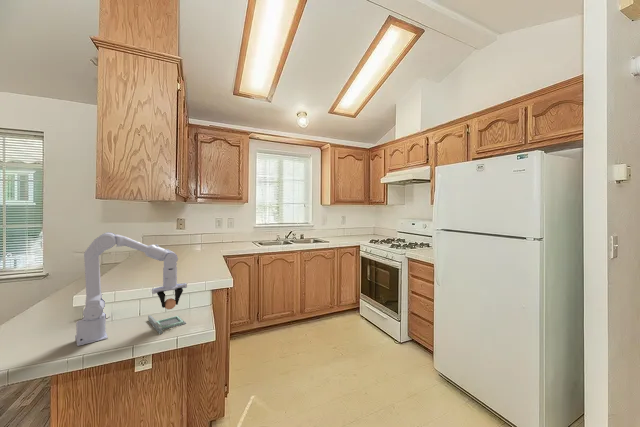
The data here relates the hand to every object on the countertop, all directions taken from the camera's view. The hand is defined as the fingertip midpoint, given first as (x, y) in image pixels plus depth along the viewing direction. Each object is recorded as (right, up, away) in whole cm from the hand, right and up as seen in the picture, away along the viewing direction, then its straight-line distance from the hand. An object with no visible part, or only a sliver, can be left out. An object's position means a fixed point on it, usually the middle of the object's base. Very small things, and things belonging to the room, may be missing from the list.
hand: (169, 305), depth 127 cm
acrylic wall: (-5, -9, -3) cm, 10 cm away
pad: (0, -9, 0) cm, 8 cm away
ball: (0, +1, 0) cm, 1 cm away
